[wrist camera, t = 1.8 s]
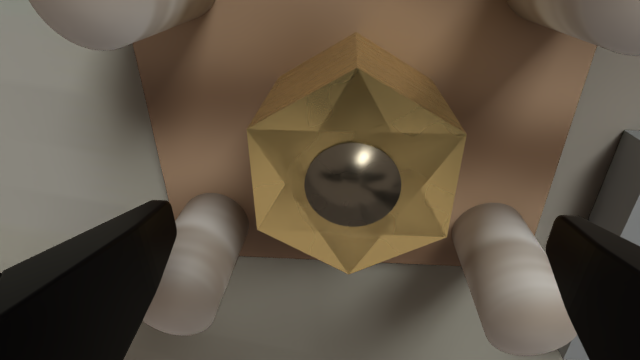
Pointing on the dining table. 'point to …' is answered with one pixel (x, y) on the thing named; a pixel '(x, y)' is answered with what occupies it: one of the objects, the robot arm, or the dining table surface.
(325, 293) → the dining table surface
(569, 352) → the tray
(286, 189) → the nut
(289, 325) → the dining table surface
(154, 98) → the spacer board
